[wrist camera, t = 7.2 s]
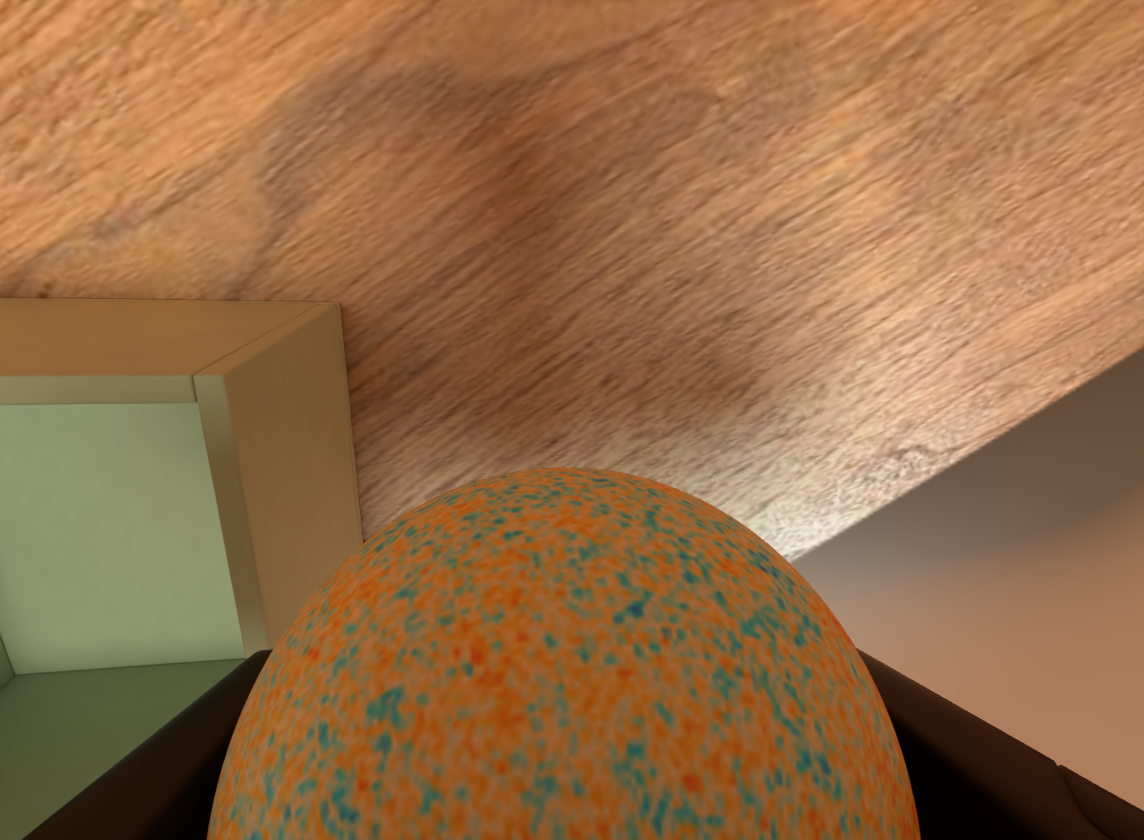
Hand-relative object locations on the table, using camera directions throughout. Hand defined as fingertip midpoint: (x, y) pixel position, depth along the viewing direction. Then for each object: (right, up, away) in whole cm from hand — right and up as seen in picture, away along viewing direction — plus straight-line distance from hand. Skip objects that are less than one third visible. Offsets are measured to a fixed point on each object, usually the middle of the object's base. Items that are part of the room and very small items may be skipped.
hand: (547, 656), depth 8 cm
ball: (0, +1, +2) cm, 2 cm away
